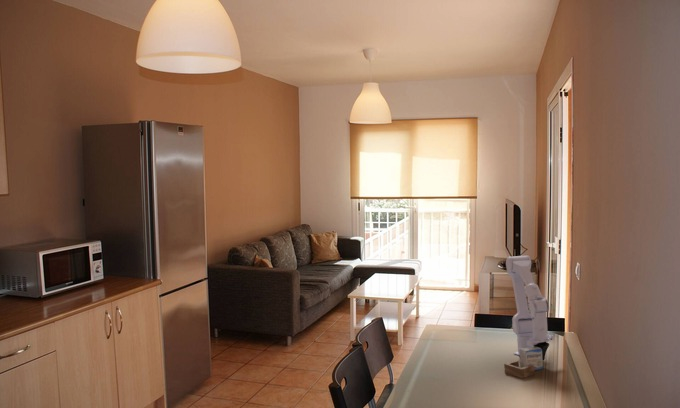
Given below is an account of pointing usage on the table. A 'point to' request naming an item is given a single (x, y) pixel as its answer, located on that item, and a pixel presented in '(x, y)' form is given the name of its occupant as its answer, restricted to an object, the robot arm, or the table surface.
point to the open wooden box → (518, 369)
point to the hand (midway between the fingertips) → (541, 359)
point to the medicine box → (531, 357)
